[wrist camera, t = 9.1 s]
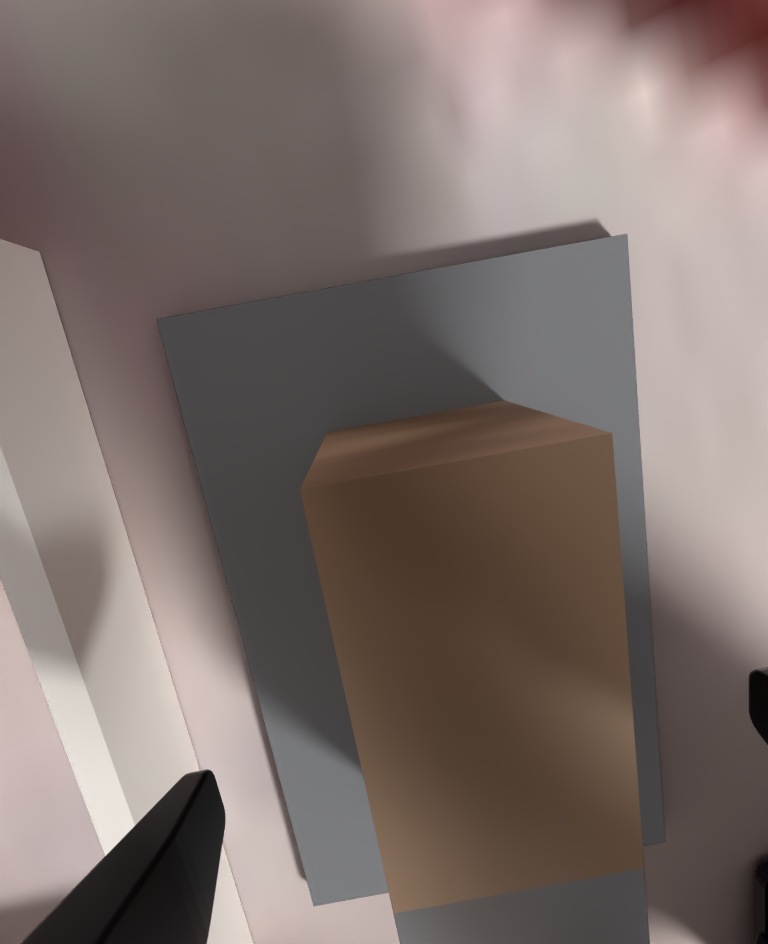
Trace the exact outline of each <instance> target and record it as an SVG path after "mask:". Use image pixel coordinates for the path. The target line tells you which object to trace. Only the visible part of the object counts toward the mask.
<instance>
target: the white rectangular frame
mask: <svg viewBox="0 0 768 944" xmlns="http://www.w3.org/2000/svg"><path fill="white" fill-rule="evenodd" d="M0 578H1V581H2V583H3V586H4V589H5V591H6V594H7V597H8V599H9V602H10V605H11V607H12V610H13V613H14V615H15V618H16V621H17V623H18V626H19V628H20V631H21V634H22V636H23V639H24V642H25V644H26V647H27V650H28V652H29V655H30V658H31V660H32V663H33V666H34V668H35V671H36V674H37V676H38V679H39V681H40V684H41V687H42V689H43V692H44V695H45V697H46V700H47V703H48V705H49V708H50V711H51V713H52V716H53V719H54V721H55V724H56V727H57V729H58V732H59V734H60V737H61V740H62V742H63V745H64V748H65V750H66V753H67V756H68V758H69V761H70V764H71V766H72V769H73V772H74V774H75V777H76V780H77V782H78V785H79V787H80V790H81V793H82V795H83V798H84V801H85V803H86V806H87V809H88V811H89V814H90V817H91V819H92V822H93V825H94V827H95V830H96V833H97V835H98V838H99V840H100V843H101V846H102V848H103V851H104V854H105V856H106V855H107V854H108V853H109V852H110V851H111V850H112V849H113V848H114V847H115V846H116V845H117V843H118V842H119V841H120V840H121V839H122V838H123V837H124V836H125V835H126V834H127V833H128V832H129V831H130V830H131V829H132V828H133V827H134V826H135V825H136V824H137V823H138V822H139V821H140V820H141V819H142V818H143V817H144V816H145V815H146V814H147V813H148V812H149V810H150V809H151V808H152V807H153V806H154V805H155V804H156V803H157V802H158V801H159V800H160V799H161V798H162V797H163V796H164V795H165V794H166V793H167V792H168V791H169V790H170V789H171V788H172V787H173V786H174V785H175V784H176V783H177V782H178V781H179V780H180V779H181V778H182V777H183V776H184V775H185V774H187V773H190V772H196V771H200V769H199V766H198V763H197V759H196V756H195V753H194V750H193V746H192V743H191V740H190V737H189V734H188V730H187V727H186V724H185V721H184V717H183V714H182V711H181V708H180V704H179V701H178V698H177V695H176V692H175V688H174V685H173V682H172V679H171V675H170V672H169V669H168V666H167V662H166V659H165V656H164V653H163V649H162V646H161V643H160V640H159V637H158V633H157V630H156V627H155V624H154V620H153V617H152V614H151V611H150V607H149V604H148V601H147V598H146V595H145V591H144V588H143V585H142V582H141V578H140V575H139V572H138V569H137V565H136V562H135V559H134V556H133V553H132V549H131V546H130V543H129V540H128V536H127V533H126V530H125V527H124V523H123V520H122V517H121V514H120V510H119V507H118V504H117V501H116V498H115V494H114V491H113V488H112V485H111V481H110V478H109V475H108V472H107V468H106V465H105V462H104V459H103V456H102V452H101V449H100V446H99V443H98V439H97V436H96V433H95V430H94V426H93V423H92V420H91V417H90V414H89V410H88V407H87V404H86V401H85V397H84V394H83V391H82V388H81V384H80V381H79V378H78V375H77V371H76V368H75V365H74V362H73V359H72V355H71V352H70V349H69V346H68V342H67V339H66V336H65V333H64V329H63V326H62V323H61V320H60V317H59V313H58V310H57V307H56V304H55V300H54V297H53V294H52V291H51V287H50V284H49V281H48V278H47V274H46V271H45V268H44V265H43V262H42V258H41V255H40V252H39V251H36V250H33V249H29V248H26V247H23V246H20V245H17V244H14V243H11V242H8V241H5V240H2V239H0ZM207 944H253V940H252V937H251V934H250V931H249V928H248V924H247V921H246V918H245V915H244V911H243V908H242V905H241V902H240V898H239V895H238V892H237V889H236V885H235V882H234V879H233V876H232V873H231V869H230V866H229V863H228V860H227V856H226V853H225V850H224V847H223V843H222V850H221V857H220V863H219V870H218V877H217V884H216V891H215V897H214V904H213V911H212V918H211V924H210V929H209V935H208V940H207Z"/></svg>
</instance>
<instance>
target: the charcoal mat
mask: <svg viewBox="0 0 768 944" xmlns="http://www.w3.org/2000/svg"><path fill="white" fill-rule="evenodd" d="M157 323H158V327H159V331H160V334H161V338H162V342H163V345H164V349H165V353H166V357H167V360H168V364H169V368H170V372H171V375H172V379H173V383H174V387H175V390H176V394H177V398H178V402H179V405H180V409H181V413H182V416H183V420H184V424H185V428H186V431H187V435H188V439H189V443H190V446H191V450H192V454H193V458H194V461H195V465H196V469H197V472H198V476H199V480H200V484H201V487H202V491H203V495H204V499H205V502H206V506H207V510H208V514H209V517H210V521H211V525H212V528H213V532H214V536H215V540H216V543H217V547H218V551H219V555H220V558H221V562H222V566H223V570H224V573H225V577H226V581H227V584H228V588H229V592H230V596H231V599H232V603H233V607H234V611H235V614H236V618H237V622H238V626H239V629H240V633H241V637H242V640H243V644H244V648H245V652H246V655H247V659H248V663H249V667H250V670H251V674H252V678H253V682H254V685H255V689H256V693H257V696H258V700H259V704H260V708H261V711H262V715H263V719H264V723H265V726H266V730H267V734H268V738H269V741H270V745H271V749H272V752H273V756H274V760H275V764H276V767H277V771H278V775H279V779H280V782H281V786H282V790H283V794H284V797H285V801H286V805H287V808H288V812H289V816H290V820H291V823H292V827H293V831H294V835H295V838H296V842H297V846H298V850H299V853H300V857H301V861H302V864H303V868H304V872H305V876H306V879H307V883H308V887H309V891H310V894H311V898H312V902H313V906H318V905H323V904H329V903H334V902H340V901H345V900H351V899H356V898H362V897H367V896H372V895H378V894H383V893H389V891H388V886H387V882H386V877H385V873H384V868H383V864H382V859H381V855H380V850H379V845H378V841H377V836H376V832H375V827H374V823H373V818H372V814H371V809H370V805H369V800H368V796H367V791H366V787H365V782H364V778H363V773H362V768H361V764H360V759H359V755H358V750H357V746H356V741H355V737H354V732H353V728H352V723H351V719H350V714H349V710H348V705H347V700H346V696H345V691H344V687H343V682H342V678H341V673H340V669H339V664H338V660H337V655H336V651H335V646H334V642H333V637H332V632H331V628H330V623H329V619H328V614H327V610H326V605H325V601H324V596H323V592H322V587H321V583H320V578H319V574H318V569H317V564H316V560H315V555H314V551H313V546H312V542H311V537H310V533H309V528H308V524H307V519H306V515H305V510H304V506H303V501H302V497H301V492H300V488H301V486H302V484H303V482H304V480H305V478H306V476H307V474H308V471H309V469H310V467H311V465H312V463H313V461H314V459H315V457H316V455H317V452H318V450H319V448H320V446H321V444H322V442H323V440H324V438H325V436H326V433H327V432H331V431H337V430H342V429H348V428H353V427H359V426H364V425H370V424H376V423H381V422H387V421H392V420H398V419H403V418H409V417H414V416H420V415H425V414H431V413H437V412H442V411H448V410H453V409H459V408H464V407H470V406H475V405H481V404H486V403H492V402H498V401H503V400H505V401H508V402H512V403H515V404H518V405H521V406H525V407H528V408H531V409H535V410H538V411H541V412H544V413H548V414H551V415H554V416H558V417H561V418H564V419H568V420H571V421H574V422H577V423H581V424H584V425H587V426H591V427H594V428H597V429H600V430H604V431H607V432H610V433H612V436H613V449H614V463H615V477H616V490H617V504H618V517H619V531H620V545H621V558H622V572H623V586H624V599H625V613H626V627H627V640H628V654H629V668H630V681H631V695H632V709H633V722H634V736H635V749H636V763H637V777H638V790H639V804H640V818H641V831H642V845H643V846H646V845H652V844H657V843H663V842H665V831H664V815H663V799H662V783H661V767H660V751H659V734H658V718H657V702H656V686H655V670H654V654H653V638H652V622H651V606H650V590H649V574H648V558H647V542H646V526H645V510H644V494H643V478H642V462H641V446H640V430H639V414H638V398H637V382H636V366H635V350H634V334H633V318H632V302H631V286H630V270H629V254H628V238H627V234H623V235H617V236H612V237H606V238H601V239H595V240H590V241H584V242H579V243H573V244H568V245H562V246H557V247H551V248H546V249H540V250H535V251H529V252H524V253H518V254H513V255H507V256H502V257H496V258H491V259H485V260H479V261H474V262H468V263H463V264H457V265H452V266H446V267H441V268H435V269H430V270H424V271H419V272H413V273H408V274H402V275H397V276H391V277H386V278H380V279H375V280H369V281H364V282H358V283H353V284H347V285H342V286H336V287H331V288H325V289H320V290H314V291H309V292H303V293H298V294H292V295H287V296H281V297H276V298H270V299H265V300H259V301H254V302H248V303H243V304H237V305H232V306H226V307H221V308H215V309H210V310H204V311H199V312H193V313H187V314H182V315H176V316H171V317H165V318H160V319H157Z"/></svg>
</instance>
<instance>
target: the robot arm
mask: <svg viewBox="0 0 768 944" xmlns="http://www.w3.org/2000/svg"><path fill="white" fill-rule="evenodd" d="M749 713H750V718H751V720H752V723H753V725H754V727H755V728H756V730H757V731H758V733H759V734H760V735H761V737H762V738H763V739H764V741H765V742H766V743H767V745H768V667H766V668H761V669H756V670H753V671H752V672H751V673H750V675H749ZM224 830H225V809H224V806H223V802H222V799H221V796H220V792H219V789H218V786H217V782H216V779H215V776H214V774H213V772H212V771H210V770H201V771H196V772H190V773H187V774H185V775H184V776H183V777H182V778H181V779H180V780H179V781H178V782H177V783H176V784H175V785H174V786H173V787H172V788H171V789H170V790H169V791H168V792H167V793H166V794H165V795H164V796H163V797H162V798H161V799H160V800H159V801H158V802H157V803H156V804H155V805H154V806H153V807H152V808H151V809H150V810H149V812H148V813H147V814H146V815H145V816H144V817H143V818H142V819H141V820H140V821H139V822H138V823H137V824H136V825H135V826H134V827H133V828H132V829H131V830H130V831H129V832H128V833H127V834H126V835H125V836H124V837H123V838H122V839H121V840H120V841H119V842H118V843H117V845H116V846H115V847H114V848H113V849H112V850H111V851H110V852H109V853H108V854H107V855H106V856H105V857H104V858H103V859H102V860H101V861H100V862H99V863H98V864H97V865H96V866H95V867H94V868H93V869H92V870H91V871H90V872H89V873H88V874H87V875H86V876H85V878H84V879H83V880H82V881H81V882H80V883H79V884H78V885H77V886H76V887H75V888H74V889H73V890H72V891H71V892H70V893H69V894H68V895H67V896H66V897H65V898H64V899H63V900H62V901H61V902H60V903H59V904H58V905H57V906H56V907H55V908H54V909H53V911H52V912H51V913H50V914H49V915H48V916H47V917H46V918H45V919H44V920H43V921H42V922H41V923H40V924H39V925H38V926H37V927H36V928H35V929H34V930H33V931H32V932H31V933H30V934H29V935H28V936H27V937H26V938H25V939H24V940H23V941H22V942H21V943H20V944H207V940H208V935H209V929H210V924H211V918H212V911H213V904H214V897H215V891H216V884H217V877H218V870H219V863H220V857H221V850H222V843H223V836H224ZM755 944H768V861H767V862H764V863H763V864H762V865H760V866H759V867H758V869H757V870H756V872H755Z"/></svg>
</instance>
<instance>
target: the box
mask: <svg viewBox="0 0 768 944" xmlns="http://www.w3.org/2000/svg"><path fill="white" fill-rule="evenodd" d="M300 492H301V497H302V501H303V506H304V510H305V515H306V519H307V524H308V528H309V533H310V537H311V542H312V546H313V551H314V555H315V560H316V564H317V569H318V574H319V578H320V583H321V587H322V592H323V596H324V601H325V605H326V610H327V614H328V619H329V623H330V628H331V632H332V637H333V642H334V646H335V651H336V655H337V660H338V664H339V669H340V673H341V678H342V682H343V687H344V691H345V696H346V700H347V705H348V710H349V714H350V719H351V723H352V728H353V732H354V737H355V741H356V746H357V750H358V755H359V759H360V764H361V768H362V773H363V778H364V782H365V787H366V791H367V796H368V800H369V805H370V809H371V814H372V818H373V823H374V827H375V832H376V836H377V841H378V845H379V850H380V855H381V859H382V864H383V868H384V873H385V877H386V882H387V886H388V891H389V895H390V900H391V904H392V909H393V913H394V918H395V923H396V927H397V932H398V936H399V941H400V944H650V940H649V927H648V913H647V900H646V886H645V872H644V859H643V845H642V831H641V818H640V804H639V790H638V777H637V763H636V749H635V736H634V722H633V709H632V695H631V681H630V668H629V654H628V640H627V627H626V613H625V599H624V586H623V572H622V558H621V545H620V531H619V517H618V504H617V490H616V477H615V463H614V449H613V436H612V433H610V432H607V431H604V430H600V429H597V428H594V427H591V426H587V425H584V424H581V423H577V422H574V421H571V420H568V419H564V418H561V417H558V416H554V415H551V414H548V413H544V412H541V411H538V410H535V409H531V408H528V407H525V406H521V405H518V404H515V403H512V402H508V401H505V400H503V401H498V402H492V403H486V404H481V405H475V406H470V407H464V408H459V409H453V410H448V411H442V412H437V413H431V414H425V415H420V416H414V417H409V418H403V419H398V420H392V421H387V422H381V423H376V424H370V425H364V426H359V427H353V428H348V429H342V430H337V431H331V432H327V433H326V436H325V438H324V440H323V442H322V444H321V446H320V448H319V450H318V452H317V455H316V457H315V459H314V461H313V463H312V465H311V467H310V469H309V471H308V474H307V476H306V478H305V480H304V482H303V484H302V486H301V488H300Z"/></svg>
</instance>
